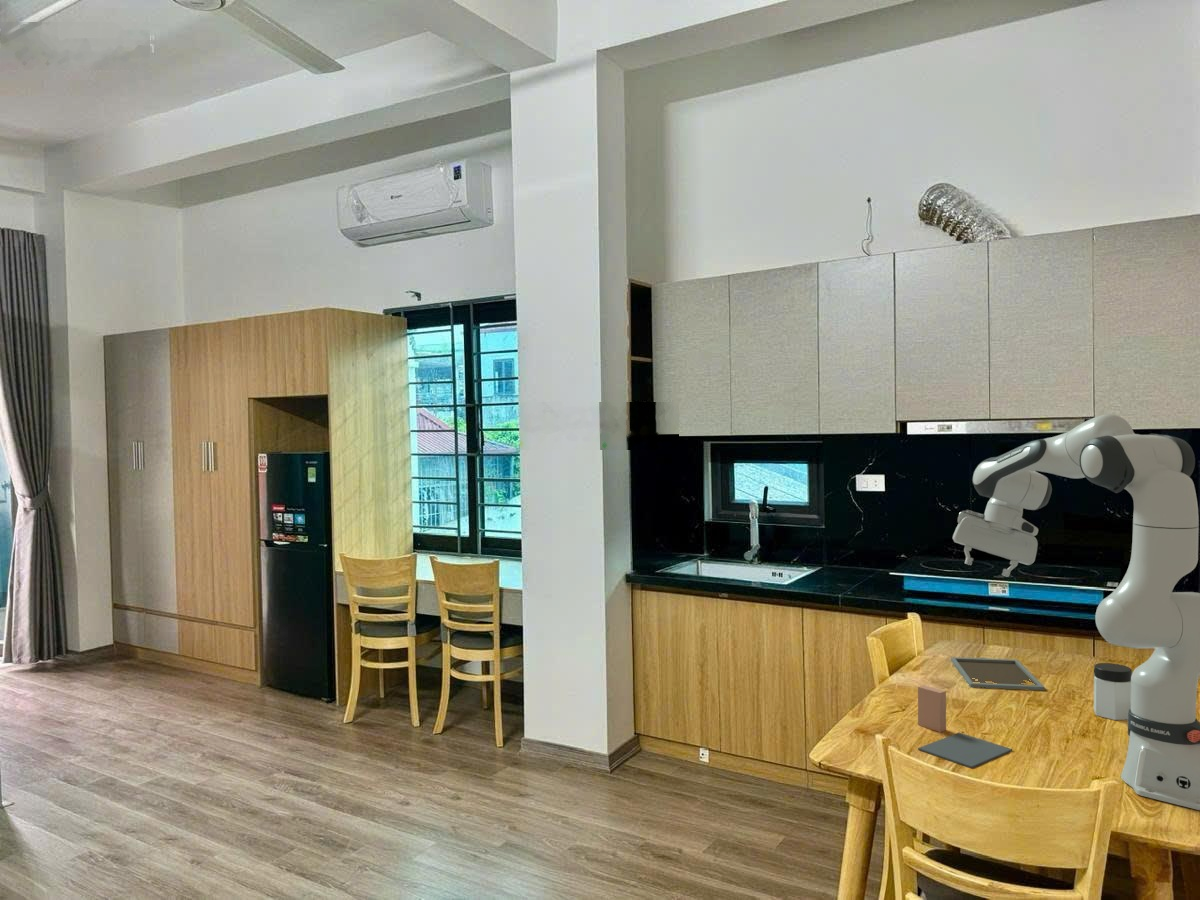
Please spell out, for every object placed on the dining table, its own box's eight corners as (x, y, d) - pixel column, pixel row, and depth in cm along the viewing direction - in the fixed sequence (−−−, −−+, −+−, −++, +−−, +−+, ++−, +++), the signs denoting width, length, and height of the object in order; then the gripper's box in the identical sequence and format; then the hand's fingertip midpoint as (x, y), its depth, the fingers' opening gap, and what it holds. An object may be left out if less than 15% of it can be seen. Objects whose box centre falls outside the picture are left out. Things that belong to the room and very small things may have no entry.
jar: (1117, 708, 220) (1118, 661, 219) (1141, 719, 212) (1141, 671, 211) (1084, 710, 219) (1085, 663, 219) (1106, 721, 211) (1107, 672, 211)
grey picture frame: (970, 683, 239) (949, 654, 268) (970, 689, 239) (949, 659, 268) (1045, 687, 235) (1015, 656, 264) (1045, 692, 235) (1015, 662, 264)
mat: (1012, 750, 193) (1012, 749, 193) (971, 768, 184) (971, 766, 184) (958, 734, 204) (958, 732, 204) (918, 749, 195) (918, 748, 195)
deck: (924, 722, 212) (924, 684, 211) (946, 729, 207) (946, 690, 207) (918, 724, 210) (918, 686, 210) (940, 732, 205) (940, 693, 205)
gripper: (963, 506, 226) (948, 556, 225) (1045, 531, 221) (1030, 582, 220) (958, 508, 232) (943, 557, 231) (1037, 532, 227) (1023, 583, 226)
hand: (986, 570), depth 225 cm, fingers open, 8 cm apart
